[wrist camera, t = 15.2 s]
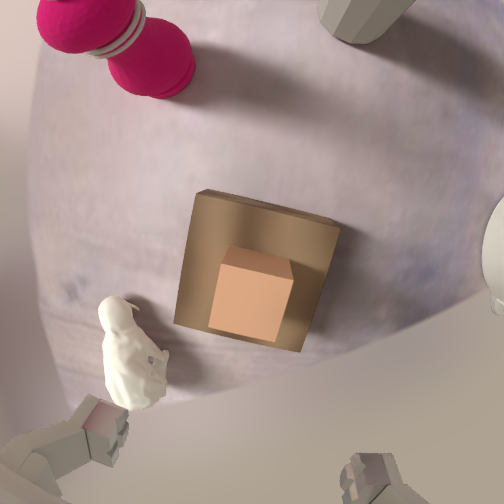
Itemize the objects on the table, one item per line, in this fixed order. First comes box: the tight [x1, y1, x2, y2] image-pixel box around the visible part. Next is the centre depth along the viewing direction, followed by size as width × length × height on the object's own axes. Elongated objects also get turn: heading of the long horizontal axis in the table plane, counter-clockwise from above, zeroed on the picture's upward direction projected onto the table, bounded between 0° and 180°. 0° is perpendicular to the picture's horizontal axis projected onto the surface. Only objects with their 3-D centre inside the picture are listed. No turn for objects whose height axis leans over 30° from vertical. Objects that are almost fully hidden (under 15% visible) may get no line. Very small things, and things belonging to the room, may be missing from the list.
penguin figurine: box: [98, 295, 169, 411], centre depth 31 cm, size 6×8×12 cm
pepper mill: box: [36, 0, 195, 98], centre depth 18 cm, size 7×7×20 cm
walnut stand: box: [173, 189, 340, 352], centre depth 30 cm, size 12×12×5 cm
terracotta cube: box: [208, 245, 294, 342], centre depth 25 cm, size 5×5×5 cm
